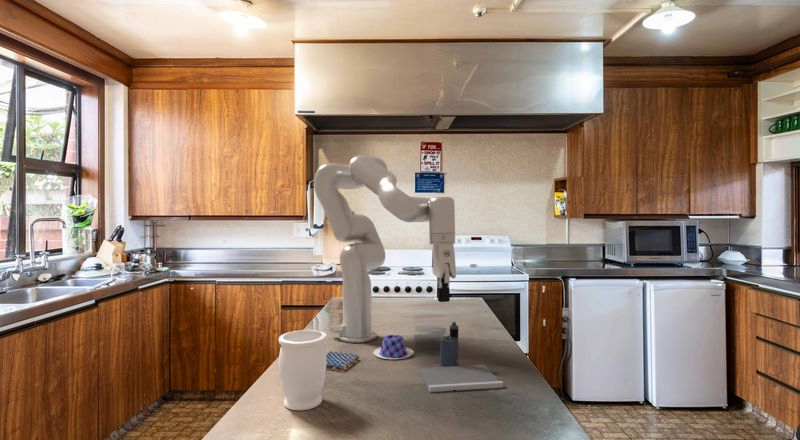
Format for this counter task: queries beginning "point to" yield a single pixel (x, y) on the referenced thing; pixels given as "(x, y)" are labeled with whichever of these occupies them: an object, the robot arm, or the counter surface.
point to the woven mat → (340, 361)
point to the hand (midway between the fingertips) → (443, 301)
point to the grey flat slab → (459, 378)
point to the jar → (302, 368)
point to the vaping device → (449, 347)
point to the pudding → (393, 348)
